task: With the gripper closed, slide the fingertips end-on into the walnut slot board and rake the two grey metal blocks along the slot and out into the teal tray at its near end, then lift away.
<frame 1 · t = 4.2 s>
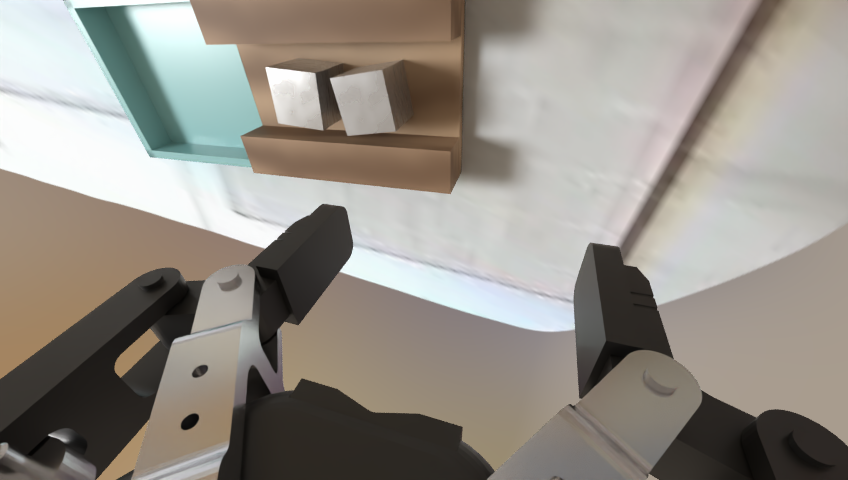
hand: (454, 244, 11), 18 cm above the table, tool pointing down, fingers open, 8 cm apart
metal block 2: (385, 91, 26), point 1 cm above the table, touching walnut slot board
walnut slot board: (350, 85, 28), on the table
metal block 1: (323, 87, 28), point 1 cm above the table, touching walnut slot board
teal tray: (193, 81, 32), on the table
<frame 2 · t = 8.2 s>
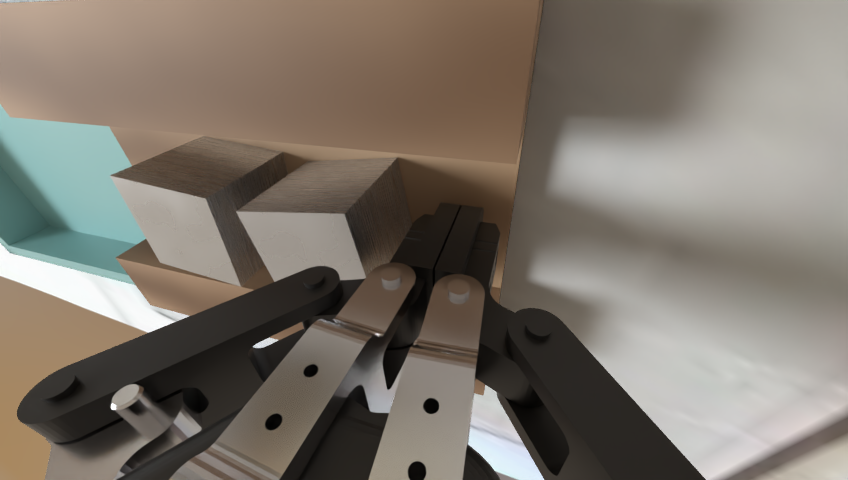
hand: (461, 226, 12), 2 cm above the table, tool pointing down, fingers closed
metal block 2: (363, 204, 14), point 1 cm above the table, touching gripper, walnut slot board
walnut slot board: (304, 180, 16), on the table
metal block 1: (254, 185, 15), point 1 cm above the table, touching walnut slot board
teal tray: (57, 149, 20), on the table
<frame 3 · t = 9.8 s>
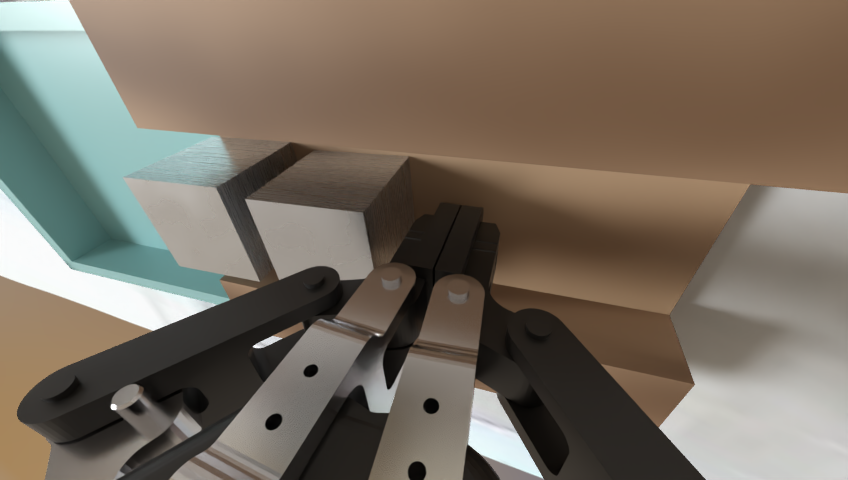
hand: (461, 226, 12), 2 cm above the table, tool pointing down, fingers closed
metal block 2: (367, 198, 14), point 1 cm above the table, touching gripper, walnut slot board
walnut slot board: (440, 195, 14), on the table
metal block 1: (266, 182, 15), point 1 cm above the table, touching walnut slot board
teal tray: (137, 158, 18), on the table
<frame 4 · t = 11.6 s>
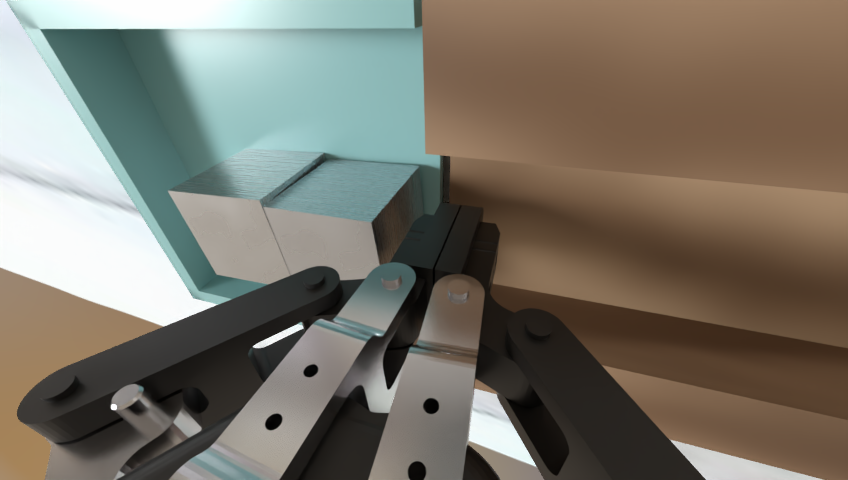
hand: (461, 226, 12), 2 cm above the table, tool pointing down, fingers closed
metal block 2: (379, 205, 14), point 1 cm above the table, touching gripper, metal block 1
walnut slot board: (724, 230, 12), on the table
metal block 1: (297, 192, 16), point 1 cm above the table, touching metal block 2, teal tray
teal tray: (297, 177, 16), on the table
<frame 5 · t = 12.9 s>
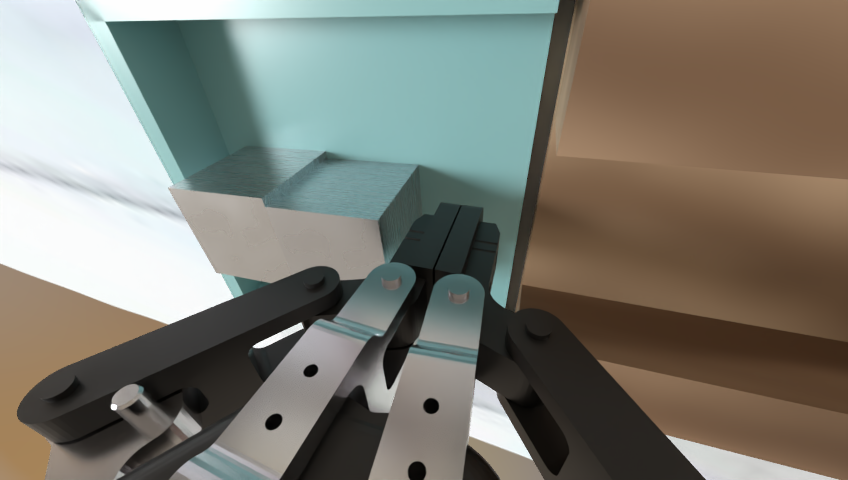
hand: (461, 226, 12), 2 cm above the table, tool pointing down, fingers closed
metal block 2: (378, 204, 15), point 1 cm above the table, touching gripper, metal block 1, teal tray
metal block 1: (297, 190, 15), resting on teal tray, touching metal block 2
teal tray: (359, 181, 15), on the table
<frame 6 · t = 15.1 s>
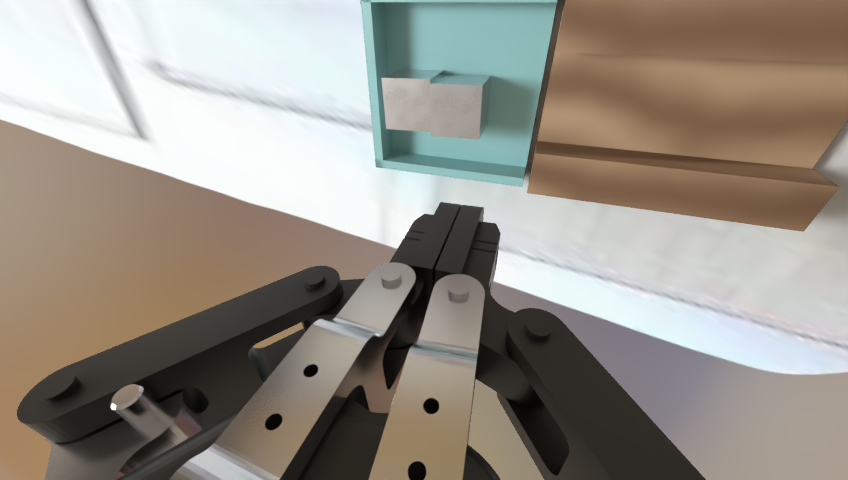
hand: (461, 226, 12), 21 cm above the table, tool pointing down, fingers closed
metal block 2: (466, 100, 29), resting on teal tray, touching metal block 1
walnut slot board: (678, 103, 25), on the table
metal block 1: (422, 94, 30), resting on teal tray, touching metal block 2
teal tray: (456, 88, 29), on the table
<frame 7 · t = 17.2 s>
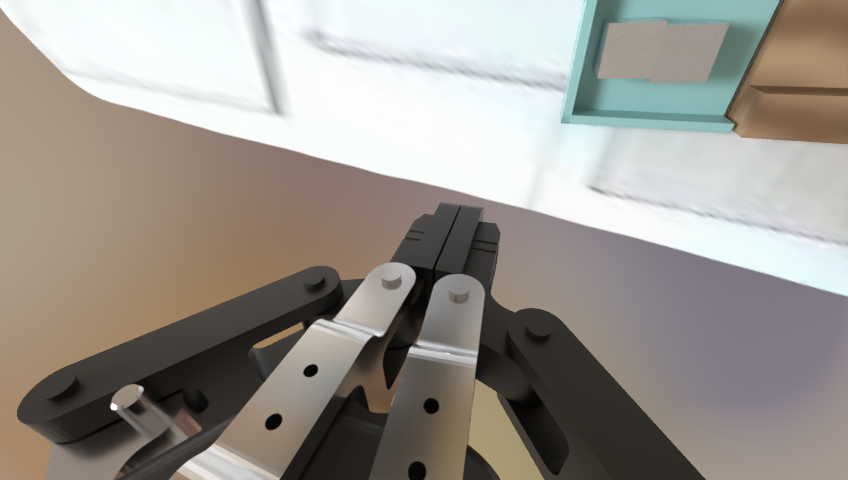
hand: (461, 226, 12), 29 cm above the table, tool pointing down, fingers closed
metal block 2: (673, 47, 29), resting on teal tray, touching metal block 1
metal block 1: (622, 44, 30), resting on teal tray, touching metal block 2
teal tray: (662, 36, 29), on the table
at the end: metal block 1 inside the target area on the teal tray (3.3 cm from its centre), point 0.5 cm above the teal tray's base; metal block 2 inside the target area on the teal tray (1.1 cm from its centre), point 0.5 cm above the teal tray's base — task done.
